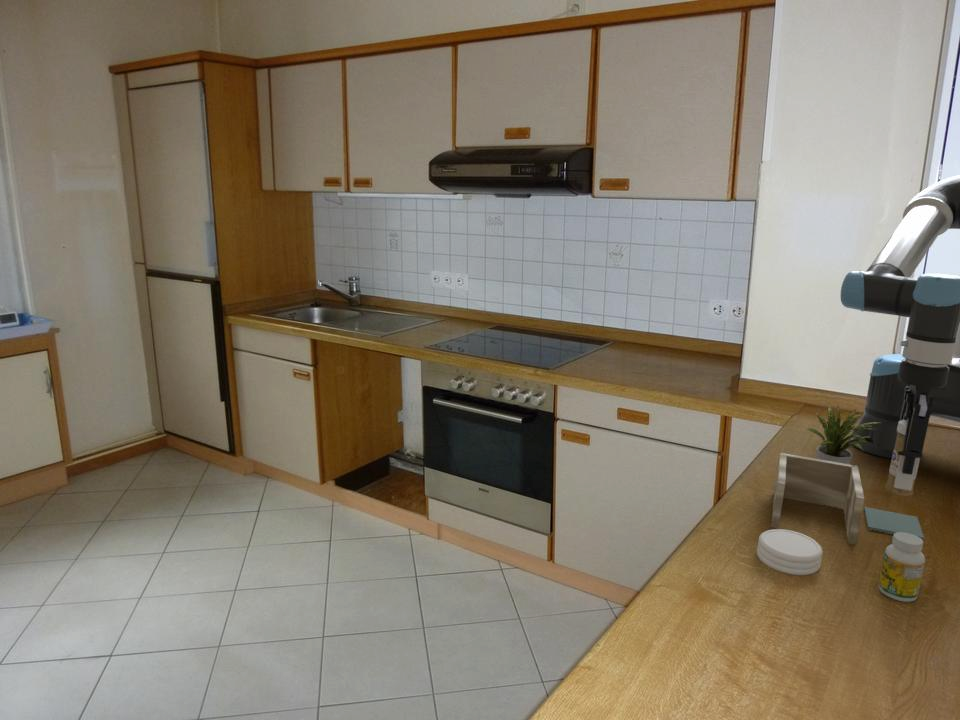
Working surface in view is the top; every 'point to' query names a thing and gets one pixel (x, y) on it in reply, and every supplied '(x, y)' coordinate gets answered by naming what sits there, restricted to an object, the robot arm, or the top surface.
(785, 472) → the birch box
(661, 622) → the top surface
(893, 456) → the sprinkles bottle
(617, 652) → the top surface
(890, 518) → the felt mat
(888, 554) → the supplement bottle
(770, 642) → the top surface
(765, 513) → the top surface
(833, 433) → the house plant
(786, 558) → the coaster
